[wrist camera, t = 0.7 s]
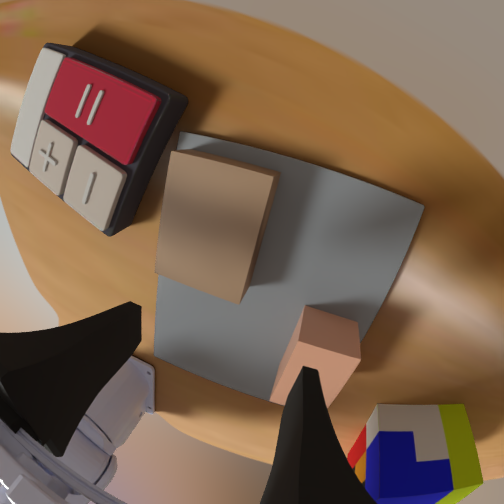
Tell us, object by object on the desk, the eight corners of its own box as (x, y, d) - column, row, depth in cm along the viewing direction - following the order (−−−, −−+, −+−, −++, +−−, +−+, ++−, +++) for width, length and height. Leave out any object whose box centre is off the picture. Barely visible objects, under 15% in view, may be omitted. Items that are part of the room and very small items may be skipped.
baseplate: (314, 410, 24) (314, 414, 23) (156, 352, 26) (153, 355, 25) (422, 204, 16) (424, 206, 15) (183, 131, 18) (180, 131, 17)
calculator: (104, 243, 19) (3, 155, 18) (136, 224, 22) (35, 148, 22) (167, 93, 14) (38, 40, 13) (196, 100, 18) (71, 46, 17)
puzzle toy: (377, 402, 22) (379, 498, 13) (463, 403, 20) (483, 483, 11) (347, 453, 26) (339, 527, 17) (422, 453, 24) (427, 521, 15)
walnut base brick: (249, 286, 20) (239, 304, 18) (172, 258, 21) (154, 272, 19) (281, 172, 17) (273, 176, 15) (190, 149, 18) (171, 150, 15)
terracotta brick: (325, 378, 21) (322, 415, 18) (279, 364, 22) (269, 400, 18) (357, 322, 19) (361, 359, 15) (304, 305, 20) (298, 341, 16)
